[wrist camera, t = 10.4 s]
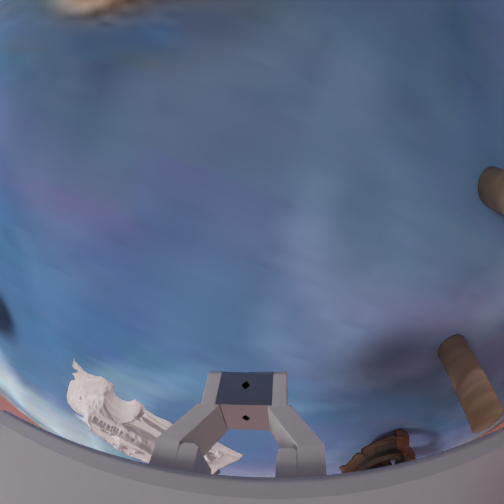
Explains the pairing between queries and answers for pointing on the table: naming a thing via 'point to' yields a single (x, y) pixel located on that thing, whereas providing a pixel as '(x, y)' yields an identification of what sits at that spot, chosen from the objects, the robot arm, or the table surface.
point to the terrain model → (127, 420)
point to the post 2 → (492, 188)
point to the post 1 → (470, 384)
